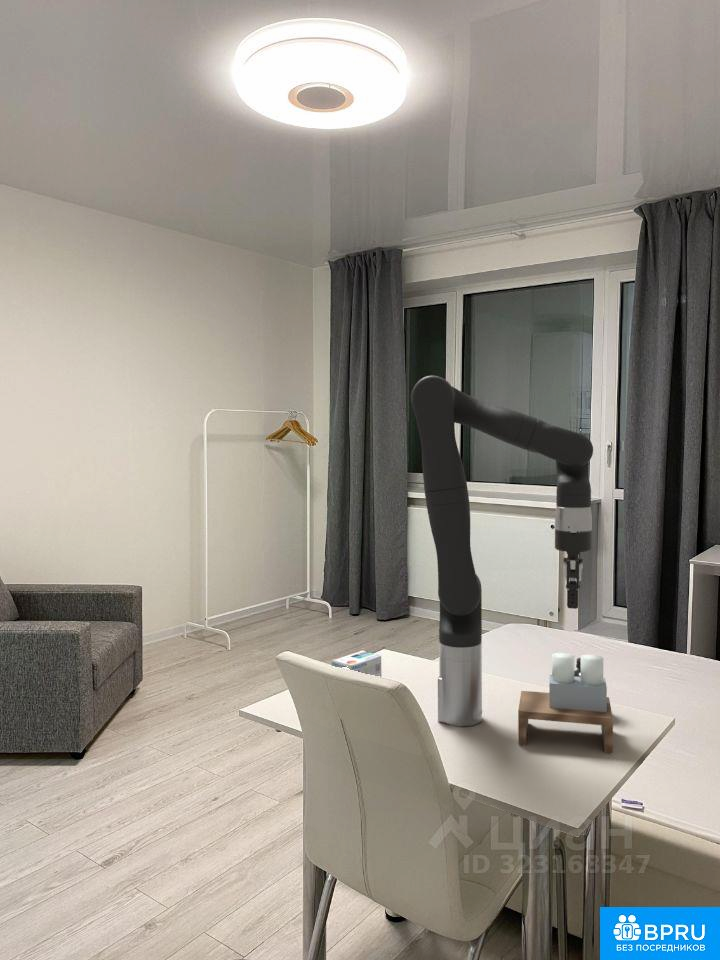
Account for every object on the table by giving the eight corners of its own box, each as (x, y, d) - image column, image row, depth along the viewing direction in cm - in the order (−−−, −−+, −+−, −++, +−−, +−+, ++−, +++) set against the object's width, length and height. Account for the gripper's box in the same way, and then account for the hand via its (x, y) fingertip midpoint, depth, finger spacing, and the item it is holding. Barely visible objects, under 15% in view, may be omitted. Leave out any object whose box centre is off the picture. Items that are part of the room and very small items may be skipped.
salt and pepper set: (549, 707, 149) (549, 658, 148) (549, 698, 154) (549, 651, 154) (606, 712, 146) (606, 662, 146) (604, 702, 151) (605, 654, 151)
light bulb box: (362, 692, 179) (362, 649, 179) (383, 699, 175) (382, 654, 174) (331, 704, 172) (330, 659, 171) (351, 711, 167) (350, 665, 166)
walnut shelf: (518, 744, 148) (518, 710, 147) (521, 722, 159) (521, 690, 159) (612, 753, 143) (612, 718, 143) (608, 729, 155) (608, 697, 154)
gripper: (555, 523, 163) (555, 595, 164) (554, 531, 149) (553, 610, 150) (591, 524, 161) (590, 597, 162) (592, 532, 147) (591, 612, 148)
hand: (572, 603), depth 156 cm, fingers open, 8 cm apart
